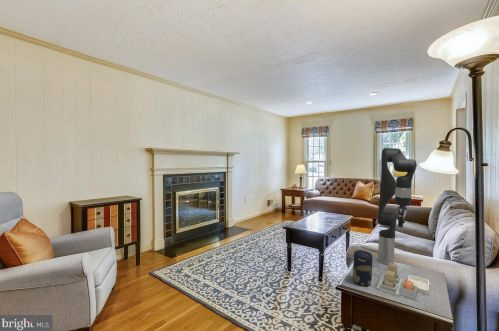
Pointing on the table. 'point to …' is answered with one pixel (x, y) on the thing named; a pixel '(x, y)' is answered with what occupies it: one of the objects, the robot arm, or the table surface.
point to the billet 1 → (393, 269)
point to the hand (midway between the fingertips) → (401, 225)
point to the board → (390, 290)
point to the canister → (362, 267)
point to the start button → (408, 285)
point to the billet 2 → (389, 278)
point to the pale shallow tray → (420, 284)
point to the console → (408, 292)
